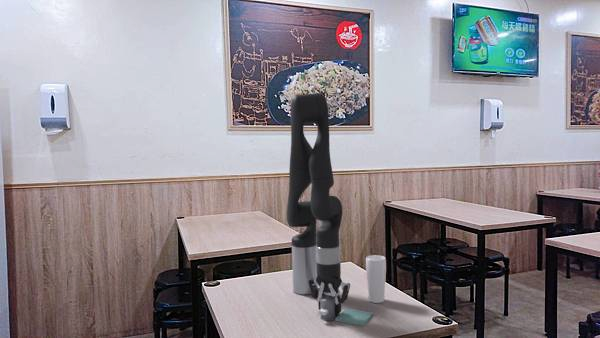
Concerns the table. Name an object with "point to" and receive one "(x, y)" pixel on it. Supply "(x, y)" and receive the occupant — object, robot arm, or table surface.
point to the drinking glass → (376, 277)
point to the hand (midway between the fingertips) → (329, 313)
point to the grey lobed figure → (327, 307)
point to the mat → (354, 317)
